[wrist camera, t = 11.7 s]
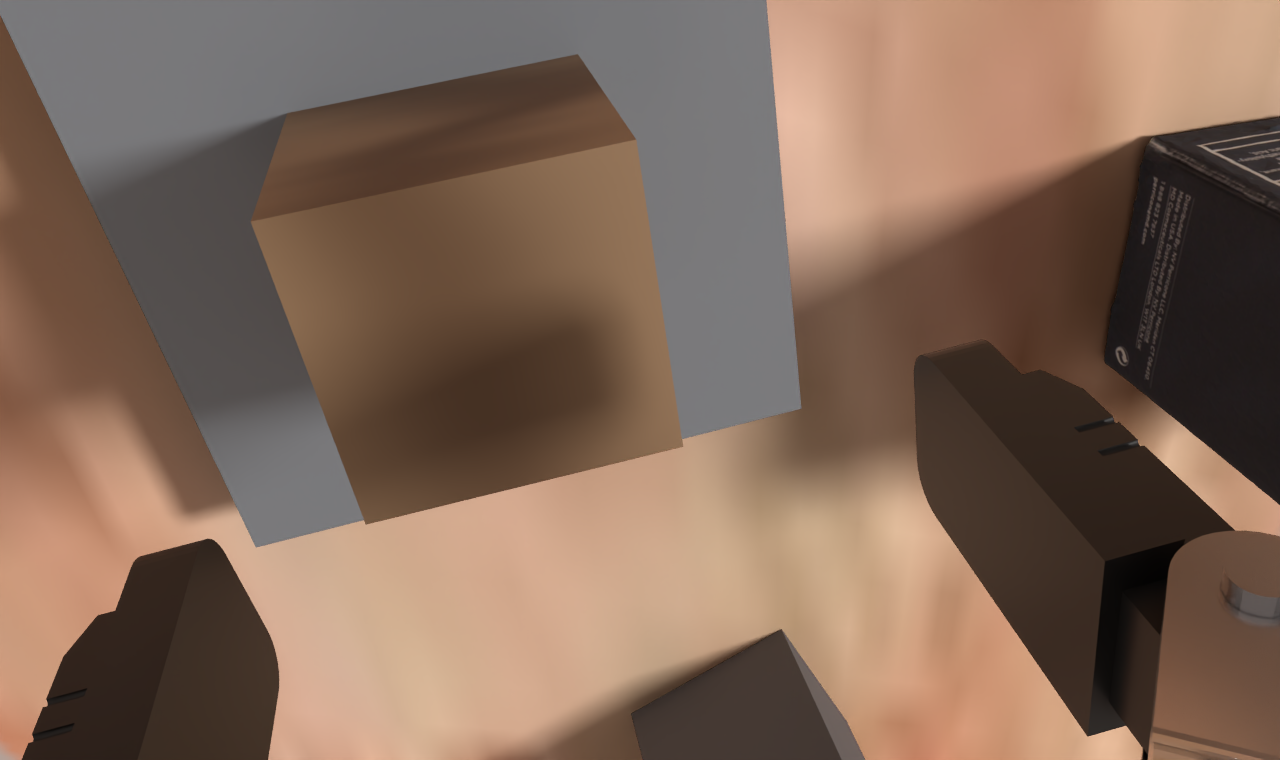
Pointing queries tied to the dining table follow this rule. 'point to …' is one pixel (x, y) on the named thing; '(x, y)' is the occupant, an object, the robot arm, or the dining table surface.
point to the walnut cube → (471, 284)
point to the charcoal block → (748, 712)
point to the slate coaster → (376, 64)
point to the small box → (1208, 291)
